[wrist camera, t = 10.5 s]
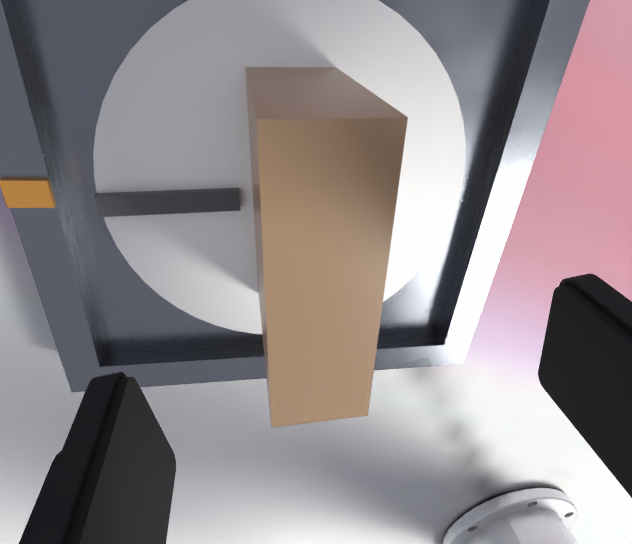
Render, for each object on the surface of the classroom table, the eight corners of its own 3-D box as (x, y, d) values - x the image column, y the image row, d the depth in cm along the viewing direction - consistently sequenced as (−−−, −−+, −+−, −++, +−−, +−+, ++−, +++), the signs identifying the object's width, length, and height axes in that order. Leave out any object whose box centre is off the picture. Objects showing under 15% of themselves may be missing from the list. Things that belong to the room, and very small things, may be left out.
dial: (491, -17, 15) (705, -25, 8) (424, 309, 22) (507, 442, 16) (48, -33, 13) (-155, -62, 6) (141, 333, 20) (98, 500, 13)
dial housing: (446, 337, 26) (464, 366, 24) (84, 359, 22) (70, 395, 20) (580, -99, 15) (634, -113, 13) (-76, -194, 11) (-141, -233, 9)
